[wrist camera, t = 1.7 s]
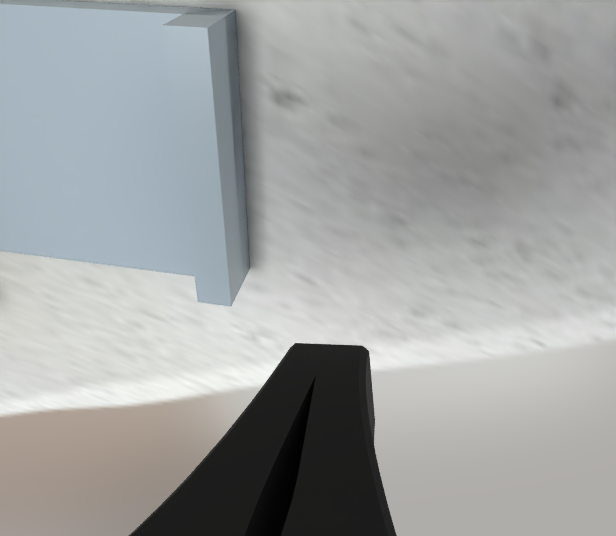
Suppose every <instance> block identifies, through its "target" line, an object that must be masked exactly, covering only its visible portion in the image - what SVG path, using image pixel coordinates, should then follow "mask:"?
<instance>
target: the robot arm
mask: <svg viewBox="0 0 616 536" xmlns="http://www.w3.org/2000/svg"><path fill="white" fill-rule="evenodd" d="M374 426H375V418H374V405H373V393H372V382H371V370H370V358H369V351H368V350H367V349H366V348H364V347H363V346H356V345H330V344H303V343H295V344H294V345H293V346H292V347H291V348H290V349H289V350H288V352H287V353H286V355H285V356H284V358H283V359H282V360H281V362H280V363H279V365H278V366H277V368H276V369H275V370H274V372H273V373H272V375H271V376H270V377H269V379H268V380H267V381H266V383H265V384H264V386H263V387H262V388H261V390H260V391H259V392H258V394H257V395H256V396H255V398H254V399H253V400H252V402H251V403H250V404H249V405H248V407H247V408H246V409H245V410H244V412H243V413H242V414H241V415H240V417H239V418H238V419H237V420H236V422H235V423H234V424H233V425H232V427H231V428H230V429H229V430H228V432H227V433H226V434H225V435H224V437H223V438H222V439H221V440H220V441H219V442H218V444H217V445H216V446H215V447H214V448H213V449H212V450H211V451H210V453H209V454H208V455H207V456H206V457H205V458H204V459H203V461H202V462H201V463H200V464H199V465H198V466H197V467H196V468H195V470H194V471H193V472H192V473H191V474H190V475H189V476H188V477H187V479H186V480H185V481H184V482H183V483H182V484H181V485H180V486H179V487H178V488H177V489H176V490H175V491H174V492H173V493H172V494H171V495H170V497H168V498H167V499H166V500H165V501H164V502H163V503H162V505H161V506H160V507H158V509H157V510H155V511H154V512H153V513H152V514H151V515H150V516H149V517H148V518H147V519H146V520H145V521H144V522H143V523H142V524H141V525H140V526H139V527H138V528H137V529H136V530H135V531H134V532H132V533H131V534H130V535H129V536H396V533H395V529H394V526H393V522H392V519H391V515H390V511H389V508H388V504H387V500H386V496H385V493H384V488H383V484H382V480H381V477H380V472H379V468H378V463H377V459H376V454H375V448H374Z"/></svg>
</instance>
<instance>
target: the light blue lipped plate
mask: <svg viewBox="0 0 616 536" xmlns="http://www.w3.org/2000/svg"><path fill="white" fill-rule="evenodd" d="M0 251H5V252H12V253H20V254H28V255H35V256H43V257H51V258H58V259H66V260H74V261H81V262H89V263H96V264H104V265H112V266H119V267H127V268H135V269H142V270H150V271H157V272H165V273H173V274H180V275H188V276H195V283H196V291H197V298H198V302H202V303H209V304H217V305H224V306H232V304H233V302H234V300H235V298H236V296H237V294H238V291H239V289H240V287H241V285H242V283H243V281H244V279H245V277H246V275H247V273H248V271H249V269H250V260H249V243H248V225H247V207H246V189H245V172H244V154H243V136H242V118H241V100H240V83H239V65H238V47H237V29H236V12H235V10H231V9H213V8H194V7H176V6H158V5H139V4H121V3H103V2H85V1H66V0H0Z"/></svg>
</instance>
